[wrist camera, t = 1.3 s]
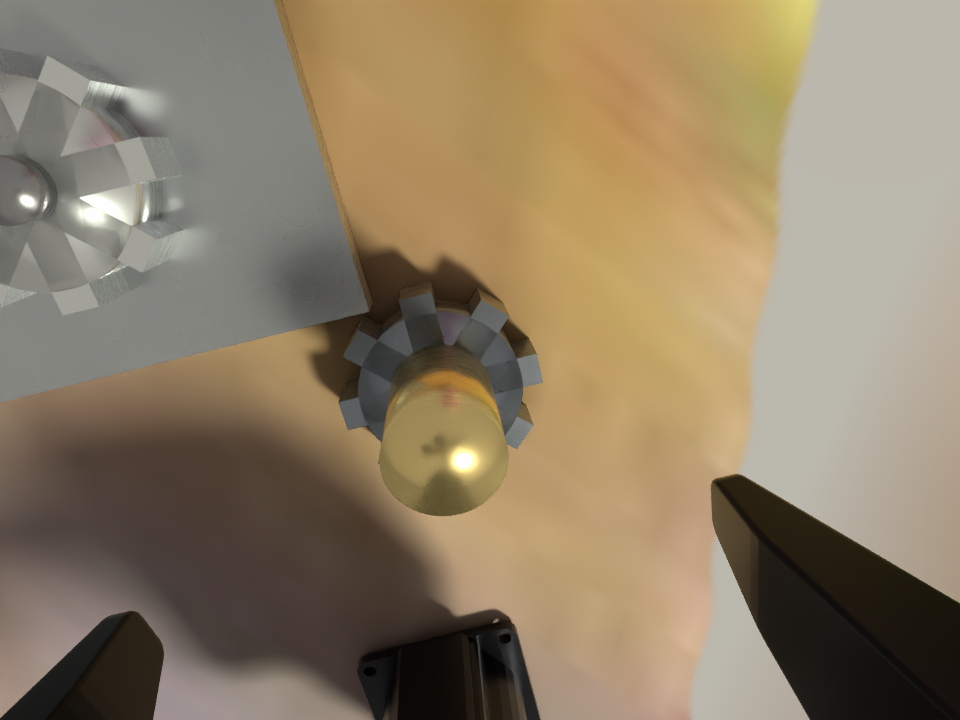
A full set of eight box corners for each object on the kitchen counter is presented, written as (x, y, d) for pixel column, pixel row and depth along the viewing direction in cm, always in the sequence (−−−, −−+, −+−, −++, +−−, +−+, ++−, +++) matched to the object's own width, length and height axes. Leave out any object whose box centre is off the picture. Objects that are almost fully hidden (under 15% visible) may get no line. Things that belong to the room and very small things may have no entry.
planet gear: (549, 433, 22) (590, 534, 16) (376, 475, 22) (357, 591, 16) (512, 261, 20) (545, 309, 14) (319, 308, 20) (275, 375, 14)
